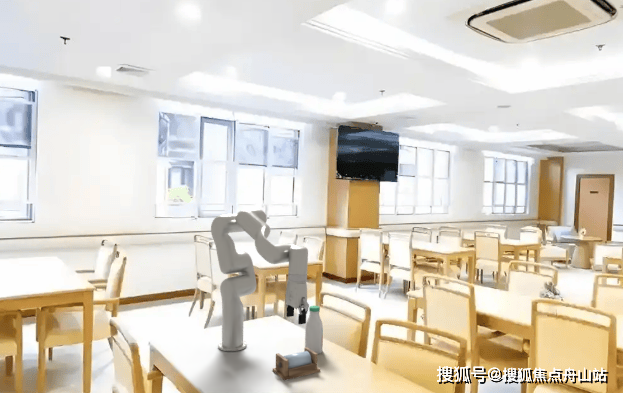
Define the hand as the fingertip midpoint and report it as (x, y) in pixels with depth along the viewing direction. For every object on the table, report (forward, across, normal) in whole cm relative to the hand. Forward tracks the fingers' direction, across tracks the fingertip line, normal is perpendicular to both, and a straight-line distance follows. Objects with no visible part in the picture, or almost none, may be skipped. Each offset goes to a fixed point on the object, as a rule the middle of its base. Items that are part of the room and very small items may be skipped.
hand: (295, 320), depth 174 cm
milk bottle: (+20, -12, +16) cm, 28 cm away
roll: (+19, +3, 0) cm, 19 cm away
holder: (+20, +3, 0) cm, 20 cm away
